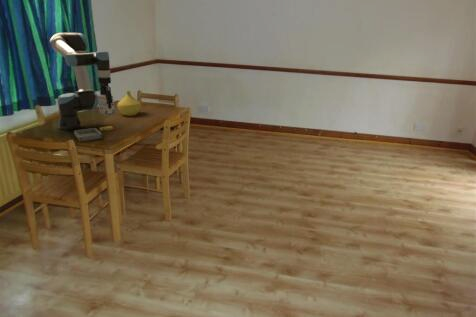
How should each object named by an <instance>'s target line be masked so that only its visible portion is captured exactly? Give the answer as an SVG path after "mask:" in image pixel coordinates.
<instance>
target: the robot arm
mask: <svg viewBox="0 0 476 317" xmlns="http://www.w3.org/2000/svg"><path fill="white" fill-rule="evenodd" d="M49 45H50V48H51V49H52V50H54V52H57V53H59V54H60V55H61V56H62V57H63V58H64V61H65V64H66V66H67V67H73V70H74V74H75V75H74V76H75V80H76V83H77V84H76V85H77V89H78V90H77V92H76V93H75V92H65V93H63V94H60V95H58V97H57V104H58V105H57V106H58V110H59V111H58V112H59V121H58V129H60V130H65V131H67V130H70V131H71V130H78V129H80V128H82V127H83V123H82V121H81V119H80V116H79V113H78V112H83V111H85V112H86V111H92V110H96V109H97V108H99V103H98V96H99V95H106V100H107V103H106V104H107V112H108V114H109V113H112V105H111V103H113V102H112V96H113V95H112V90H111V89H112V88H111V86H109V84H111V83H112V79H111V65H110V55H109V52H108V51H106V50H97V51H95V52H94V51H93V52H92V51H91V52H87V50H88V47H89V44H88V40H87V38H86V36H85V34H83V33H81V32H58V33H55V34H53V35H52V36H51V38H50V40H49ZM87 66H96V68H97V71H96V74H97V76H98V77H97V82H98V83H99V90H100V91H99V93H100V94H99V95H98V93H97V92H95V90H94V89H93V88H92V86H91V82H90V76H89V72H88V71H89V70H88V67H87ZM108 114H107V115H108Z"/></svg>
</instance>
